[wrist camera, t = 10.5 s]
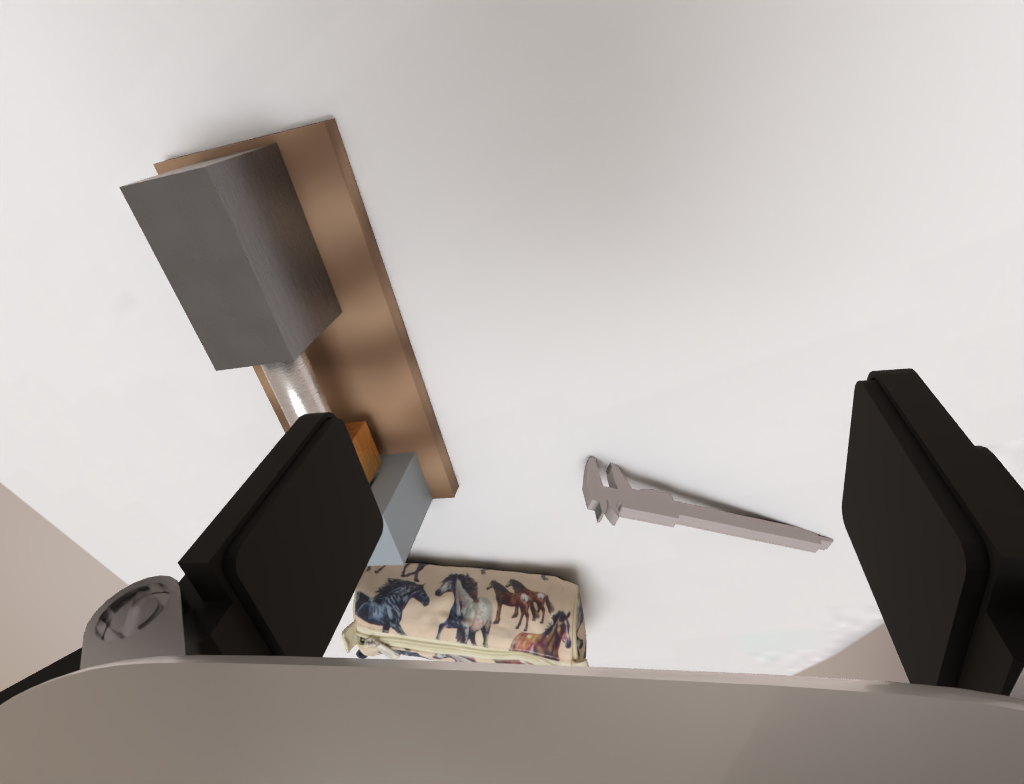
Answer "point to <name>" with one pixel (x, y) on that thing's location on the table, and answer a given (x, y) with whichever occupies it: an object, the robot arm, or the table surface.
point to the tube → (316, 405)
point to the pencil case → (467, 616)
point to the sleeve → (238, 255)
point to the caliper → (684, 512)
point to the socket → (399, 506)
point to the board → (353, 307)
